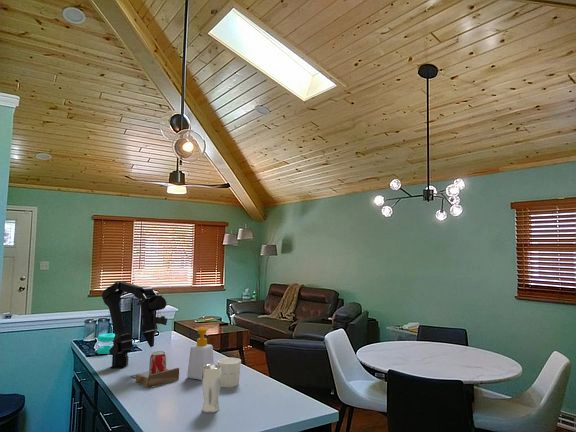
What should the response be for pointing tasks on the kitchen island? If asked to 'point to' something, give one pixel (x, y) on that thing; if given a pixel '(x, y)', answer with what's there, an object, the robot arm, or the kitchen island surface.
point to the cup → (229, 371)
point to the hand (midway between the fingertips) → (152, 346)
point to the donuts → (105, 338)
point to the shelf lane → (158, 378)
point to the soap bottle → (200, 355)
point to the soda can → (157, 362)
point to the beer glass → (211, 387)
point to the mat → (141, 374)
